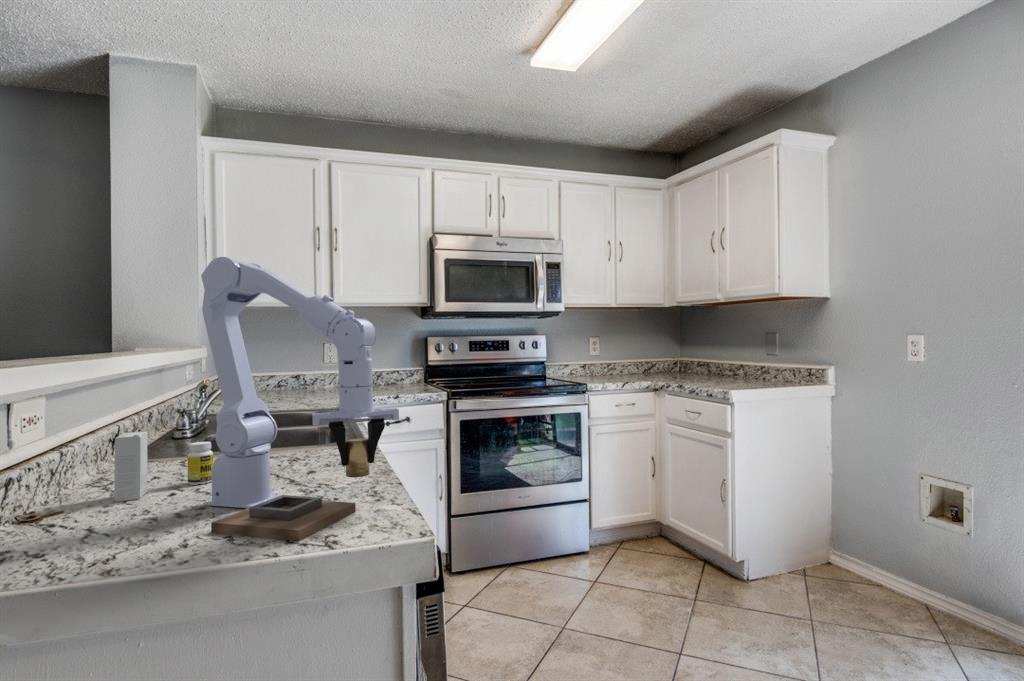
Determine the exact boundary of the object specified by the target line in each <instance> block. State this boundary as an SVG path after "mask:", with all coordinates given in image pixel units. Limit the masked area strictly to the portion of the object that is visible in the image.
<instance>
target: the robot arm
mask: <svg viewBox="0 0 1024 681" xmlns="http://www.w3.org/2000/svg"><path fill="white" fill-rule="evenodd" d="M200 275H201V281H202V285H203V289H204V294H203V300H202V306H201V307H202V308H201V309H202V314H203V315H202V316H203V320H204V325H205V330H206V333H207V337H208V341H209V345H210V346H209V347H210V349H211V350H210V351H211V355H212V358H213V359H212V360H213V362H214V367H215V372H216V376H217V378H218V383H219V384H218V385H219V389H220V392H221V396H222V401H223V406H222V407H221V408H220V410H219V412H217V414H216V416H215V421H216V431H215V432H216V433H215V443H216V444H217V447H218V448H219V450H220V451H221V452H222V453H221V454H220V455H218V456H217V457H216V458H215V459H214V460H213V466H212V482H211V501H209V502H208V503H207V505H208V506H212V507H227V508H238V509H239V508H240V509H248V508H250V507H253V506H256V505H258V504H261V503H263V502H266V501H269V500H271V499H274V498H277V497H280V496H282V493H271V457H270V456H271V453H270V450H271V449H272V443H274V441H275V440H276V439H277V435H278V425H277V422H276V420H275V419H274V418H273V416H272V415H271V413H270V411H269V406H268V404H266V403H265V402H264V401H263V400H261V399H260V398H259V397H258V396H257V392H256V391H257V390H256V388H255V384H254V383H255V382H254V379H253V375H252V372H251V371H252V369H251V366H250V362H249V358H248V354H247V350H246V346H245V343H244V337H243V334H242V329H241V325H240V322H239V315H240V313H241V312H242V310H243V309H244V308H245V307H247V306H248V305H249V304H250V303H252V302H253V301H254V300H255V299H257V298H259V297H260V295H262V294H265V295H268V296H270V297H271V298H273V299H276V300H277V301H279V302H281V303H283V304H284V305H286V306H288V307H290V308H292V309H294V310H296V311H298V312H299V315H300V320H301V322H302V323H304V324H306V325H307V326H309V327H310V328H312V329H314V330H315V331H317V332H318V333H320V334H321V335H323V336H324V337H327V338H328V339H330V340H331V341H332V344H333V345H334V346H335V347H336V349H337V357H338V358H337V359H338V362H337V363H338V394H339V395H338V401H339V402H338V403H339V405H338V406H339V410H336V411H327V412H316V413H315V412H314V413H312V415H311V416H312V426H314V427H317V426H322V425H323V426H324V425H328V428H329V430H330V432H331V435H332V436H333V438H334V441H335V443H336V446H337V449H338V452H339V456H340V465H341V466H342V467H346V466H347V459H346V449H345V441H346V431H347V430H346V427H345V426H346V425H345V424H350V423H362V422H364V423H365V422H367V425H366V426H367V436H368V438H367V439H369V464H374V463H375V456H376V451H377V448H378V443H379V441H380V439H381V435H382V433H383V431H384V429H385V427H386V422H385V421H390V420H391V421H392V420H393V421H397V420H398V421H399V420H400V410H399V408H397V407H393V408H392V407H390V408H374V394H373V393H374V392H373V391H374V389H373V385H374V384H373V381H374V380H373V352H372V349H373V348H372V347H373V346H374V345H375V342H376V340H377V337H378V335H377V329H376V326H374V324H373V323H372V322H371V321H370V320H369V319H368V318H364V317H358V318H357V317H356V316H355V315H356V313H355V311H353V310H351V309H347V310H346V309H345V308H343V307H341V306H339V305H338V304H336V302H335V303H334V302H333V301H334V300H335V299H334V298H333V297H332V296H330V295H319V294H317V295H316V294H315V295H313V296H310V295H308V294H306V293H305V292H303V291H302V290H301V289H299V288H298V287H296V286H295V285H293V284H292V283H290V282H289V281H287V280H285V279H284V278H282V277H281V276H279V275H278V274H277V273H275V272H273V271H272V270H270V269H267V268H263V266H261V265H259V264H256V263H249V262H244V261H239V260H236V259H232V258H229V257H226V256H218V257H215V258H214V259H212V260H211V261H210V262H209V263H208V265H207V266H206V268H205V269H204V270H203V272H202V274H200Z"/></svg>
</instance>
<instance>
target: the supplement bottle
mask: <svg viewBox="0 0 1024 681" xmlns="http://www.w3.org/2000/svg"><path fill="white" fill-rule="evenodd" d="M188 448H189V453H188V454H187V484H188V485H189V484H190V486H199V485H198V484H202V485H206V484H205V483H207V484H210V483H212V466H213V463H214V452H213V451H212V450H211V449H212V442H211V441H196V442H192V443H189V447H188ZM209 482H210V483H209Z"/></svg>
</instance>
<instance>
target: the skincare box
mask: <svg viewBox="0 0 1024 681" xmlns="http://www.w3.org/2000/svg"><path fill="white" fill-rule="evenodd" d="M147 492H148V431H138V432H125V433H122V434H121V435H119V436H117V437H115V440H114V502H127V501H128V502H129V501H135V500H140V499H141V498H142V497H143V496H144V495H145V494H146V493H147Z"/></svg>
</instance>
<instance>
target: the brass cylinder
mask: <svg viewBox="0 0 1024 681" xmlns="http://www.w3.org/2000/svg"><path fill="white" fill-rule="evenodd" d="M345 449H346V459H347V466H345V476H346V477H347V478H362V477H367V476H369V475H370V472H371V470H370V463H369V439H368V438H353V439H351V438H350V439H347V440H346V439H345Z"/></svg>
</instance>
